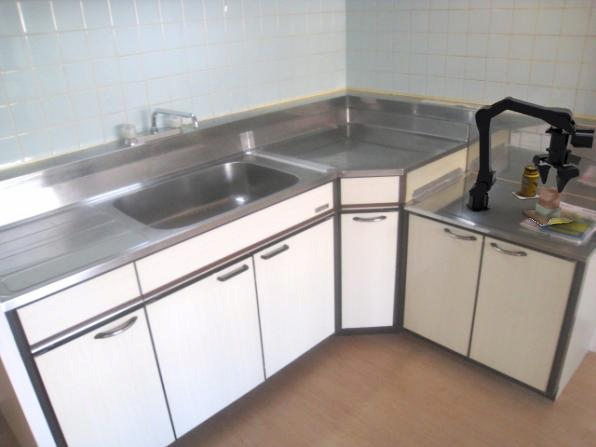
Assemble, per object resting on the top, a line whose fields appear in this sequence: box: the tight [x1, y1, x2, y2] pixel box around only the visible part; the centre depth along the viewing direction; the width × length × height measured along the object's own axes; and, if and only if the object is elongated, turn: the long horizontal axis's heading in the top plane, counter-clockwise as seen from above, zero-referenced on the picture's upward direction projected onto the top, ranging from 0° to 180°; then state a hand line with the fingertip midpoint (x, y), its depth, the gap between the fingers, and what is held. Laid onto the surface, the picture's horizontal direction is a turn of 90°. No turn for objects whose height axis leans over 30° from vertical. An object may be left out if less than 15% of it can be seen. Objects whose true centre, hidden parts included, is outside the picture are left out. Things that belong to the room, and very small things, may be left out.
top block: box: [537, 186, 563, 209], centre depth 181 cm, size 5×5×6 cm
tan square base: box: [522, 202, 573, 225], centre depth 183 cm, size 12×12×5 cm
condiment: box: [511, 164, 540, 200], centre depth 202 cm, size 7×8×12 cm
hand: (551, 188), depth 179 cm, fingers open, 9 cm apart
